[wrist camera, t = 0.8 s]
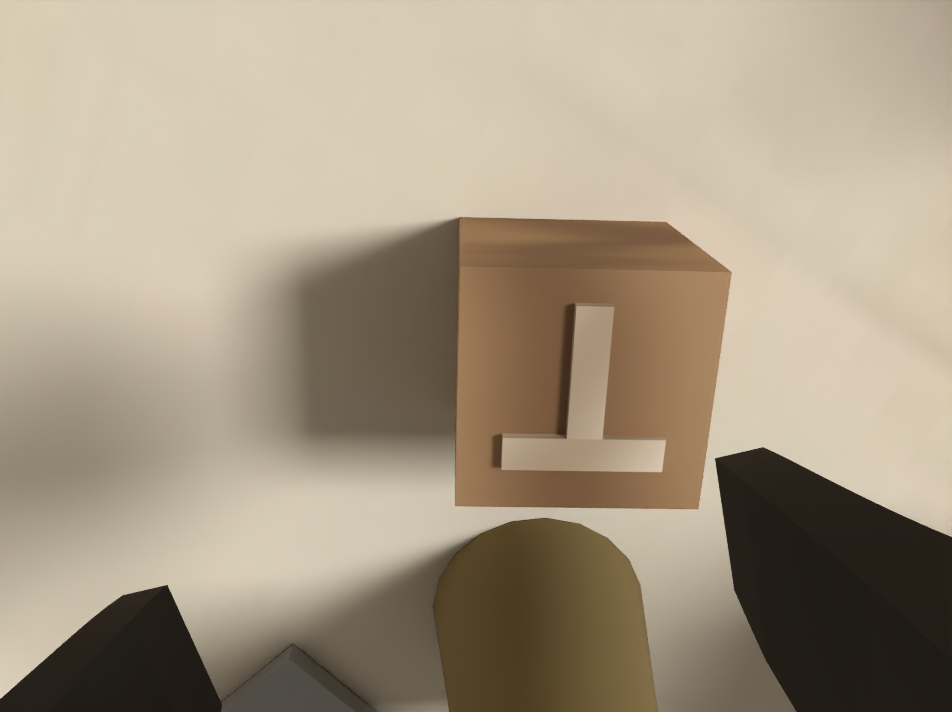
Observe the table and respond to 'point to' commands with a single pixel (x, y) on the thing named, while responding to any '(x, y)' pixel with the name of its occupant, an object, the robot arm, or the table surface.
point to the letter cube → (584, 363)
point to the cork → (543, 623)
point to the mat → (293, 689)
